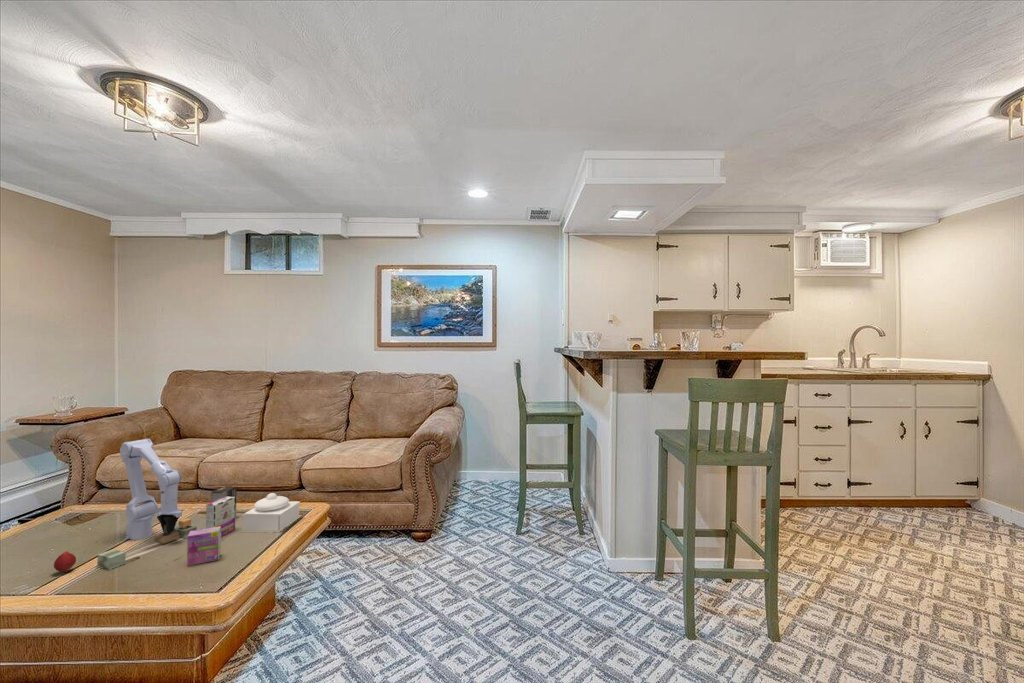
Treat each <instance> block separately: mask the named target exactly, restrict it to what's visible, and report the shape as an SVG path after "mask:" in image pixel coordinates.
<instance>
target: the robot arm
mask: <svg viewBox="0 0 1024 683" xmlns="http://www.w3.org/2000/svg"><path fill="white" fill-rule="evenodd" d="M153 448H154V443H153V442H152V440H151V439H150V438H143V439H137V440H133V441H132V440H130V441H124V442H123V443H122V444H121V446H120V449H119V452H120V458H121V461H122V462H123V463H124V467H125V469H126V470H125V471H126V475H127V480H128V485H129V489H130V494H131V500H130V501H129V502H128V503H127V504H126V506H125V508H126V510H125V518H126V519H127V520H128V521H127V523H126V526H125V527H126V530H125V531H126V534H125V538H124V539H123V541H125V540H126V541H127V540H129V539H130V540H131V541H138V540H139V541H140V540H143V539H148V538H150V537H152V536H153V517H155V514H157V516H156V519H157V520H158V521H159V524H160V526H161V529H162V533H164V525H165V524H166V526H167V532H168V533H170V532H173V531H174V528H176V524H177V522H178V521H179V519H180V518H181V517H183V511H181V510H180V509H179V508H178V492H179V489H178V487H179V484H180V482H181V481H182V474H181V472H180V471H179V470H176V469H173V468H172V467H170V465H169V464H168V463H167V461H166V460H163V459H162V460H161V459H160V458H159V456H158V455H157V453H156V452H155V450H154V449H153ZM143 459H144V460H145V461H146V462H147V463H148V464H149V465H150V466H151V467H150V471H151V472H152V473H153V474H154V476H156V478H157V479H158V480H157V484H158V486H159V487H158V488H159V491H160V507H159V505H158V502H156V500H155V499H156V498H155V497H154V496H152V495H149V494H148V492H147V486H146V483H145V478H144V473H143V468H142V464H141V461H142V460H143Z"/></svg>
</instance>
